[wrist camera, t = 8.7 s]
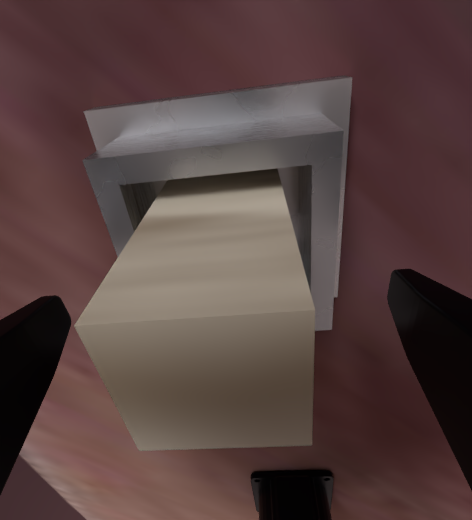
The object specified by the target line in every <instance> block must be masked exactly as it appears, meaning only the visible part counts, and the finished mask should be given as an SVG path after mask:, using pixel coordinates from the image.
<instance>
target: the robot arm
mask: <svg viewBox="0 0 472 520" xmlns="http://www.w3.org/2000/svg"><path fill="white" fill-rule="evenodd" d="M387 299H388V304H389V307H390V310H391V313H392V316H393V319H394V322H395V325H396V328H397V331H398V333H399V336H400V339H401V342H402V345H403V348H404V350H405V353H406V356H407V358H408V360H409V362H410V365H411V367H412V369H413V371H414V373H415V375H416V377H417V379H418V381H419V383H420V385H421V387H422V389H423V391H424V393H425V395H426V397H427V400H428V402H429V404H430V406H431V408H432V410H433V412H434V414H435V416H436V418H437V420H438V422H439V424H440V426H441V428H442V430H443V432H444V435H445V437H446V439H447V441H448V443H449V445H450V447H451V449H452V451H453V453H454V455H455V457H456V459H457V461H458V463H459V465H460V467H461V470H462V472H463V474H464V476H465V478H466V480H467V482H468V484H469V486H470V488H471V490H472V299H470V298H468V297H466V296H464V295H462V294H460V293H458V292H456V291H454V290H452V289H450V288H448V287H446V286H444V285H442V284H440V283H438V282H436V281H434V280H432V279H430V278H428V277H426V276H424V275H422V274H420V273H418V272H416V271H414V270H412V269H398V270H394V271H393V272H392V274H391V278H390V284H389V290H388V296H387ZM70 326H71V318H70V315H69V313H68V311H67V309H66V307H65V306H64V304H63V302H62V300H61V298H60V297H58V296H56V295H54V296H43V297H40V298H38V299H37V300H35V301H33V302H31V303H30V304H28V305H26V306H24V307H23V308H21V309H19V310H17V311H16V312H14V313H12V314H10V315H8V316H7V317H5V318H3V319H1V320H0V495H1V493H2V491H3V488H4V486H5V484H6V482H7V479H8V477H9V475H10V473H11V470H12V468H13V466H14V464H15V462H16V459H17V457H18V455H19V453H20V451H21V448H22V446H23V444H24V442H25V439H26V437H27V435H28V433H29V430H30V428H31V426H32V424H33V422H34V419H35V417H36V415H37V413H38V410H39V408H40V406H41V404H42V401H43V399H44V397H45V395H46V393H47V390H48V388H49V386H50V384H51V381H52V379H53V377H54V374H55V371H56V369H57V366H58V363H59V360H60V357H61V354H62V351H63V348H64V345H65V342H66V339H67V336H68V333H69V330H70ZM251 484H252V489H253V495H254V500H255V505H256V510H257V512H259V520H332V519H331V513H330V509H331V500H332V489H333V475H332V472H331V471H294V472H256V473H252V474H251Z"/></svg>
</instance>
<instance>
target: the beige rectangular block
mask: <svg viewBox="0 0 472 520" xmlns="http://www.w3.org/2000/svg"><path fill="white" fill-rule="evenodd" d="M74 326H75V328H76V330H77V332H78V334H79V336H80V338H81V340H82V342H83V344H84V346H85V348H86V350H87V352H88V353H89V355H90V357H91V359H92V361H93V363H94V365H95V367H96V369H97V371H98V373H99V375H100V377H101V378H102V380H103V382H104V384H105V386H106V388H107V390H108V392H109V394H110V396H111V398H112V400H113V402H114V403H115V405H116V407H117V409H118V411H119V413H120V415H121V417H122V419H123V421H124V423H125V425H126V427H127V429H128V430H129V432H130V434H131V436H132V438H133V440H134V442H135V444H136V446H137V448H138V450H139V451H149V450H183V449H216V448H249V447H282V446H312V428H313V384H314V340H315V307H314V304H313V300H312V296H311V293H310V289H309V285H308V281H307V278H306V274H305V270H304V266H303V263H302V259H301V255H300V251H299V248H298V244H297V240H296V236H295V233H294V229H293V225H292V221H291V218H290V214H289V210H288V206H287V203H286V199H285V195H284V191H283V188H282V184H281V180H280V176H279V173H278V169H277V168H276V169H266V170H257V171H248V172H238V173H229V174H219V175H210V176H200V177H191V178H181V179H172V180H167V182H166V183H165V185H164V186H163V188H162V190H161V191H160V193H159V194H158V196H157V197H156V199H155V201H154V202H153V204H152V205H151V207H150V208H149V210H148V211H147V213H146V215H145V216H144V218H143V219H142V221H141V222H140V224H139V225H138V227H137V229H136V230H135V232H134V233H133V235H132V236H131V238H130V240H129V241H128V243H127V244H126V246H125V247H124V249H123V250H122V252H121V254H120V255H119V257H118V258H117V260H116V261H115V263H114V265H113V266H112V268H111V269H110V271H109V272H108V274H107V275H106V277H105V279H104V280H103V282H102V283H101V285H100V286H99V288H98V289H97V291H96V293H95V294H94V296H93V297H92V299H91V300H90V302H89V304H88V305H87V307H86V308H85V310H84V311H83V313H82V314H81V316H80V318H79V319H78V321H77V322H76V324H75V325H74Z"/></svg>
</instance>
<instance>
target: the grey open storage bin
mask: <svg viewBox="0 0 472 520" xmlns="http://www.w3.org/2000/svg"><path fill="white" fill-rule="evenodd" d="M351 88H352V77H348V76H338V77H330V78H322V79H314V80H306V81H298V82H291V83H283V84H275V85H267V86H259V87H252V88H244V89H236V90H228V91H220V92H212V93H205V94H197V95H189V96H181V97H173V98H166V99H158V100H150V101H142V102H134V103H126V104H119V105H111V106H103V107H95V108H92V109H89V110H86V111H84V114H85V117H86V120H87V123H88V126H89V129H90V131H91V134H92V137H93V140H94V143H95V146H96V149H97V151H96V152H95V153H93V154H91V155H90V156H88V157H87V158H85V159H84V160H83V163H84V166H85V168H86V171H87V174H88V177H89V179H90V182H91V185H92V188H93V190H94V193H95V196H96V199H97V201H98V204H99V207H100V209H101V212H102V215H103V218H104V220H105V223H106V226H107V229H108V231H109V234H110V237H111V240H112V242H113V245H114V248H115V250H116V253H117V256H118V257H119V255H120V254H121V252H122V250H123V249H124V247H125V246H126V244H127V243H128V241H129V240H130V238H131V236H132V235H133V233H134V232H135V230H136V229H137V227H138V225H139V224H140V222H141V221H142V219H143V218H144V216H145V215H146V213H147V211H148V210H149V208H150V207H151V205H152V204H153V202H154V201H155V199H156V197H157V196H158V194H159V193H160V191H161V190H162V188H163V186H164V185H165V183H166V182H167V180H172V179H181V178H191V177H200V176H210V175H219V174H229V173H238V172H248V171H257V170H266V169H276V168H277V169H278V173H279V176H280V180H281V184H282V188H283V191H284V195H285V199H286V203H287V206H288V210H289V214H290V218H291V221H292V225H293V229H294V233H295V236H296V240H297V244H298V248H299V251H300V255H301V259H302V263H303V266H304V270H305V274H306V278H307V281H308V285H309V289H310V293H311V296H312V300H313V304H314V307H315V331H319V330H332V319H333V302H334V297H337V296H338V281H339V267H340V252H341V237H342V222H343V207H344V192H345V177H346V163H347V148H348V133H349V118H350V103H351Z"/></svg>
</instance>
